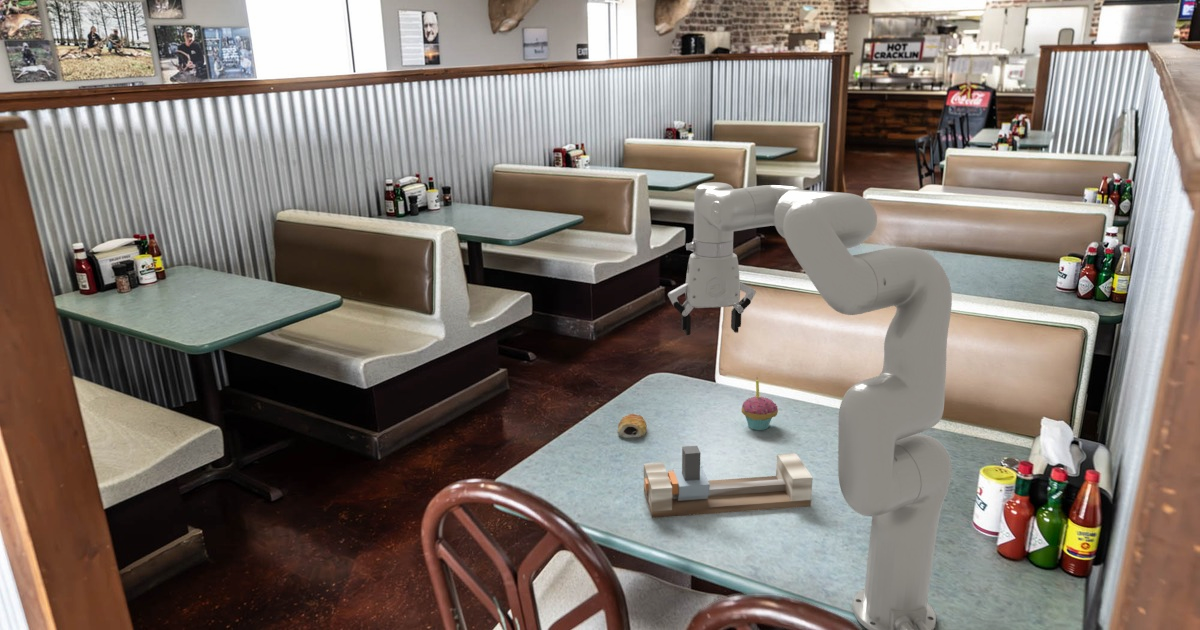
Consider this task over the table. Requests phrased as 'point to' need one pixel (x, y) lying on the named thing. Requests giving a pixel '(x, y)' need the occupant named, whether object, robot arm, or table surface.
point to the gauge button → (672, 480)
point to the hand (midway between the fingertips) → (710, 331)
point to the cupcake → (759, 411)
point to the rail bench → (730, 501)
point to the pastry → (632, 426)
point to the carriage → (691, 476)
